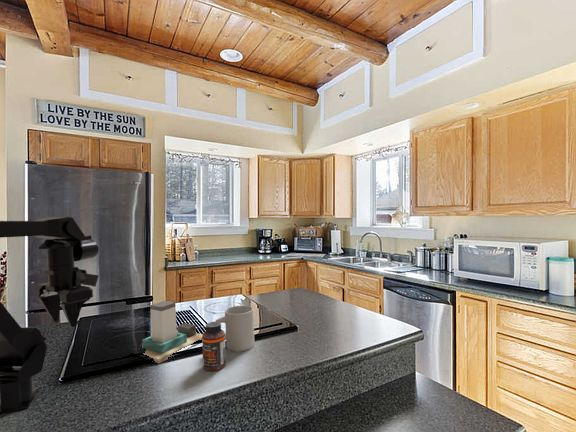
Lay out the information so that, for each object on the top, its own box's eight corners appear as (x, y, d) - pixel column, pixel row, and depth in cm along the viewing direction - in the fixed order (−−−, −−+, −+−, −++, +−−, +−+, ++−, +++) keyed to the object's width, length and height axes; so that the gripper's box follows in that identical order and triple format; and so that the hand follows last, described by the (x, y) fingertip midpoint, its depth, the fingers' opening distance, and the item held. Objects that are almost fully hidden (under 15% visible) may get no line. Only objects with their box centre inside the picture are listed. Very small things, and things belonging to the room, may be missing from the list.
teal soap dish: (159, 363, 87) (158, 348, 87) (130, 353, 94) (129, 339, 94) (207, 339, 103) (206, 326, 103) (179, 332, 109) (179, 320, 109)
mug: (250, 337, 103) (248, 303, 102) (258, 347, 95) (256, 311, 95) (212, 345, 98) (210, 309, 98) (217, 356, 90) (216, 318, 90)
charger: (163, 349, 93) (161, 307, 93) (152, 346, 96) (150, 305, 96) (177, 343, 98) (175, 302, 97) (166, 340, 100) (164, 300, 100)
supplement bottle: (199, 371, 82) (197, 328, 82) (208, 360, 88) (206, 319, 88) (221, 372, 81) (219, 328, 81) (229, 361, 87) (227, 320, 87)
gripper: (111, 261, 86) (114, 319, 86) (76, 258, 95) (79, 310, 96) (65, 269, 76) (69, 333, 76) (31, 264, 86) (34, 322, 86)
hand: (64, 323), depth 84 cm, fingers open, 9 cm apart
